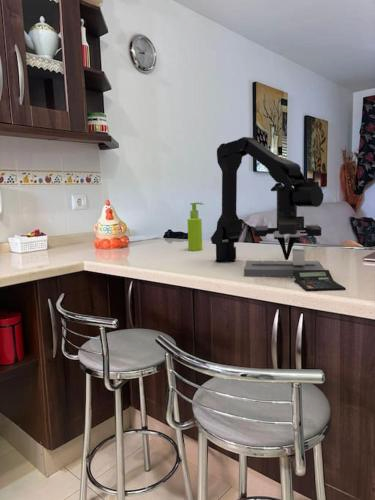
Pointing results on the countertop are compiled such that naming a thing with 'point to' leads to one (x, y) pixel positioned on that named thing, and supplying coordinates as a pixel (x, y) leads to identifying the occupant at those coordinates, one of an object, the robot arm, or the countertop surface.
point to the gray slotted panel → (278, 268)
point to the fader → (298, 256)
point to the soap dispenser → (194, 230)
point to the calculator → (316, 280)
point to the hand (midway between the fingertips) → (286, 259)
